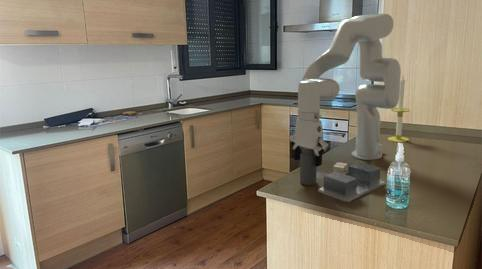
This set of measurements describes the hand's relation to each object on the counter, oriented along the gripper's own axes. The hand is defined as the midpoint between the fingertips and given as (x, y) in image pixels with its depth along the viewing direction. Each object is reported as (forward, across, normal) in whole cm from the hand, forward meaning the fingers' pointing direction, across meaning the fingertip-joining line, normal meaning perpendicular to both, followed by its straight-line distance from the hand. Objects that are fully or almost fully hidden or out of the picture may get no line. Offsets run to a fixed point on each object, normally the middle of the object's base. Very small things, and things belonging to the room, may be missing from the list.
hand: (307, 162), depth 134 cm
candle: (+6, +7, -77) cm, 77 cm away
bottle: (+8, 0, -1) cm, 8 cm away
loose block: (+8, -3, -16) cm, 18 cm away
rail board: (+8, -14, -8) cm, 18 cm away
